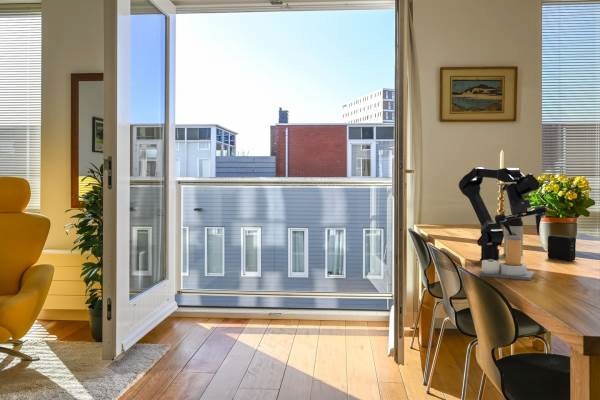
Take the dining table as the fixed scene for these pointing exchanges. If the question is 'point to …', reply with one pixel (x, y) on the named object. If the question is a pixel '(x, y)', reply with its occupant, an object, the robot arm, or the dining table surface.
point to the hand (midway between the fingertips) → (525, 236)
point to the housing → (505, 270)
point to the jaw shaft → (513, 250)
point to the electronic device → (561, 247)
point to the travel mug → (514, 231)
